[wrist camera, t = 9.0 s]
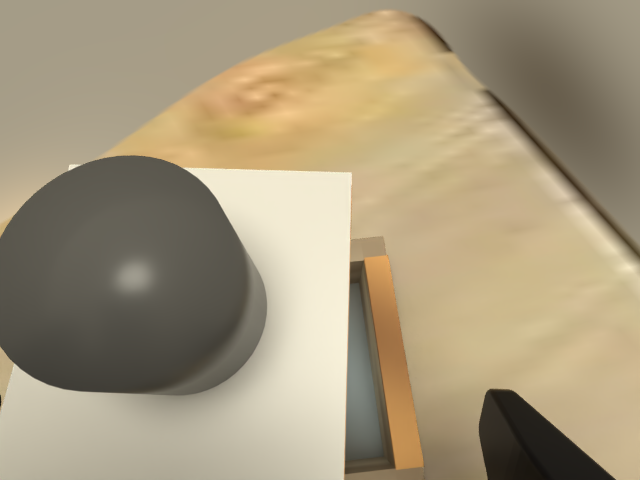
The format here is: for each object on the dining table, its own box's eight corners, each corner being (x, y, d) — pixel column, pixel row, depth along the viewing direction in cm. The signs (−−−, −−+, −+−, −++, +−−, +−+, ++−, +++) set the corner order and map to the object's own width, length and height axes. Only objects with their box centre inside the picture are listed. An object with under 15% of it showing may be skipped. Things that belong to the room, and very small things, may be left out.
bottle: (336, 432, 16) (352, 577, 3) (226, 426, 16) (-245, 534, 3) (340, 321, 17) (362, 68, 4) (238, 316, 18) (-45, 61, 4)
